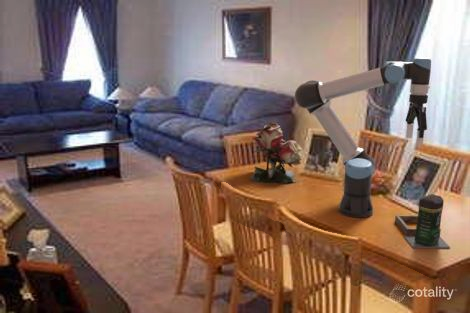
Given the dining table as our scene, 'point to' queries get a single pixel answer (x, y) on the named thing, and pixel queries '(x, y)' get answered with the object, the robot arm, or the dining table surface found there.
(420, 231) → the coffee jar
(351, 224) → the dining table surface
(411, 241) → the slate mat
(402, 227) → the holder frame
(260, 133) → the rose bouquet
